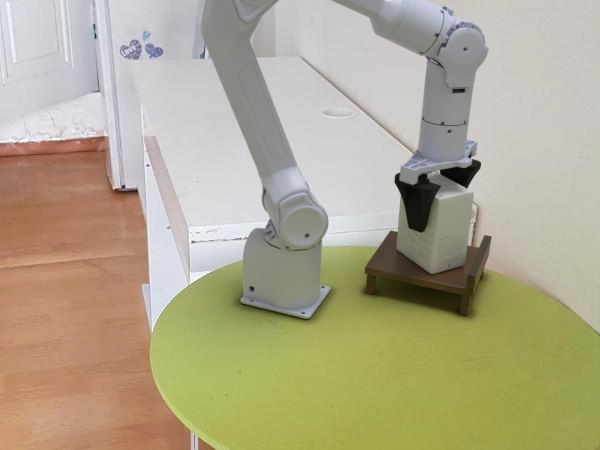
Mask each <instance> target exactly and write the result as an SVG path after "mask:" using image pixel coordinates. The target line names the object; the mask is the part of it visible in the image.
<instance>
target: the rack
mask: <svg viewBox="0 0 600 450" xmlns="http://www.w3.org/2000/svg"><path fill="white" fill-rule="evenodd" d="M397 235H398V231H396V230H389V231H388V233H387V234H386V236H384V237H385V238H384V239H383V240H382V242H381V243H380V244H379V246H378V247H377V249H376V250H375V252H374V253H373V255H372V256H371V257H370V259H369V260H368V262H367V263H366V264H365V266H364V271H363V274H365V275H366V285H365V294H368V295H374V294H375V292H376V284H377V283H376V282H377V277H379V278H383V279H388V280H392V281H396V282H401V283H407V284H411V285H415V286H421V287H424V288H429V289H433V290H434V289H435V290H437V291H443V292H448V293H453V294H456V295H457V294H458V295H460V296H461V295H462V297H461V302H460V303H461V304H460V311H459V314H460V315H461V316H465V317H468V316H469V314H470V309H471V302H472V298H473V297H474V294H475V293H476V290H477V287H478V285H479V282H480V279H483V278H484V275H485V274H484V272H485V266H486V264H487V262H488V259H489V256H490V250H491V245H492V239H493V238H492V235H487V234H484V235H483V237H482V240H481V241H480V244H479V247H478V246H474V245H469V244H468V245H467V254H466V262H465V265H464V266H461V267H457V268H453V269H450V270H446V271H442V272H439V273H435V274H430V273H429V272H427V271H426V270H425V269H423V268H422V267H420V266H419V265H418V264H416V263H415V262H413V261H412V260H411V259H409V258H408V257H406V256H405V255H404V254H402V253H401V252H399V251H398V250H397V249H396V247H397Z"/></svg>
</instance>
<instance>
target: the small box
mask: <svg viewBox="0 0 600 450" xmlns="http://www.w3.org/2000/svg"><path fill="white" fill-rule="evenodd" d="M427 179H430V181H429V182H431V183H434V184H438V185H440V186H441V188H440V189H439V191H438V192H437V194H436V196H435V198H434V200H433V203H432V206H431V209H430V213H429V218H428V223H427V226H426V229H425V231H424V232H422V233H420V232H417V231H415V230H412V229H409V228H408V223H407V217H406V211H405V207H404V203H403V199H402V197H401V196H400V200H399V211H398V223H397V224H398V225H397V232H398V235H397V247H396V249H397V250H398V251H399V252H401V253H402V254H404V255H405V256H406V257H408V258H409V259H411V260H412V261H413V262H415V263H416V264H418V265H419V266H420V267H422V268H423V269H425V270H426V271H427V272H429V273H430V274H435V273H439V272H442V271H446V270H450V269H453V268H457V267H461V266H464V265H465V262H466V254H467V245H468V246H469V236H470V228H471V219H472V211H473V202H474V195H475V192H474V191H473V190H471V189H469V188H465V187H463V186H461V185H459V184H457V183H456V182H454V181H452V180H450V179H448V178H446V177H444V176H442V175H441V174H440V172H437V171H434V172H432V173H430V174H428V177H427Z"/></svg>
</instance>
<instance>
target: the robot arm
mask: <svg viewBox="0 0 600 450" xmlns="http://www.w3.org/2000/svg"><path fill="white" fill-rule="evenodd" d="M279 1H280V0H204V5H203V10H202V17H201V22H200V33H201V38H202V40H203V43H204V45H205V48H206V50H207V52H208V55H209V58H210V60H211V62H212V65H213V67H214V69H215V71H216V74H217V76H218V79H219V81H220V83H221V86H222V88H223V91H224V94H225V96H226V99H227V100H228V103H229V106H230V107H231V110H232V113H233V115H234V117H235V120H236V122H237V124H238V127H239V129H240V132H241V134H242V136H243V139H244V142H245V145H246V146H247V148H248V151H249V154H250V156H251V158H252V161H253V163H254V166H255V168H256V170H257V175H258V178H259V180H260V182H261V187H262V190H261V204H262V207H263V209H264V211H265V212H266V213H267V215H268V217H269V220H268V221H267V223H266V225H265V227H255V228H253V229H252V230H251V232H249V234H248V236H247V237H246V241H245V242H244V243H245V244H244V248H243V255H242V297H241V298H240V303H241V304H243V305H248V306H252V307H256V308H260V309H264V310H268V311H273V312H276V313H277V312H278V313H281V314H284V315H289V316H293V317H296V318H301V319H305V320H308V319H311V318H312V316H313V315H314V313H315V312H316V311H317V310H318V308H319V307H320V305H321V304H322V303H323V301H325V299H326V297H327V296H328V294H329V293H330V292H331V287H330V286H328V285H324V284H321V276H322V275H321V273H322V250H323V238H324V237H325V236H326V233H327V232H328V228H329V216H328V212H327V211H326V209H325V208H324V207H323V205H322V204H320V203H319V201H318V200H317V198H316V197H315V196H314V194H313V192H312V191H311V188H310V187H309V184H308V183H307V181H306V180H305V178H304V176H303V174H302V172H301V170H300V168H299V165H298V163H297V161H296V158H295V155H294V152H293V150H292V148H291V145H290V141H289V140H288V137H287V134H286V131H285V129H284V126H283V124H282V122H281V119H280V116H279V113H278V111H277V109H276V105H275V104H274V100H273V98H272V95H271V93H270V90H269V87H268V84H267V82H266V80H265V77H264V74H263V71H262V69H261V67H260V63H259V61H258V59H257V56H256V53H255V51H254V48H253V46H252V44H251V43H252V42H251V38H252V36H253V34H254V32H255V31H256V29H257V26H258V25H259V23H260V21H261V20H262V17H263V16H264V15H266V13H268V12H269V11H270V10H271V9H272V8H273V7H274V6H275V5H276V4H277V3H278V2H279ZM330 1H331V2H333V3H336V4H337V5H340V6H342V7H345V8H347V9H349V10H352V11H354V12H356V13H358V14H361V15H363V16H364V17H367V18H369V21H370V24H371V27H372V31H373V33H374V35H376V36H378V37H380V38H382V39H384V40H386V41H388V42H391V43H393V44H395V45H397V46H399V47H401V48H403V49H405V50H407V51H410V52H412V53H414V54H416V55H418V56H421V57H424V58H425V59H426V69H425V78H424V86H423V96H422V107H421V116H420V125H419V134H418V135H419V136H418V145H417V149H416V150H415V152H414V153H413V154H412V155H411V157H409V159H408V160H407V161H406V162H405V163H404V164H402V165H400V171H399V172H397V173H396V174H395V175H394V179H393V180H394V181H393V182H394V184H395V186H396V188H397V189H398V193H399V194H400V197H402V199H403V203H404V207H405V211H406V217H407V223H408V228H409V229H412V230H415V231H417V232H420V233H422V232H424V231H425V229H426V226H427V223H428V218H429V213H430V209H431V206H432V203H433V200H434V198H435V196H436V194H437V192H438V191H439V189H440V188H441V186H440V185H438V184H434V183H431V182H429V181H430V179H427V177H428V174H430V173H433V172H437V171H439V174H441V175H442V176H444V177H446V178H448V179H450V180H452V181H454V182H456V183H457V184H459V185H461V186H463V187H465V188H467V189H469V186H470V184H471V182H472V181H473V179H474V178H475V176H476V175H477V173H479V171H480V170H481V168H482V162H481V161H480V160H479V159H478V160H477V159H475V158H473V157H475V156H476V155H477V149H478V143H479V142H478V141H477V140H473V139H469V138H468V131H469V123H470V115H471V109H472V108H471V107H472V101H473V91H474V86H475V85H474V84H475V81H476V75H477V71H478V69H479V68H480V67H481V66H482V65H483V64H484V62H485V61H486V58H487V56H488V54H489V46H487V45H486V38H485V34H484V33H483V32H482V31H483V30H482V29H481V28H480V27H479V26H478V25H477V24H475V23H473V22H471V21H468V20H467V19H463V18H461V17H459V16H457V15H455V14H454V13H455V9H453V8H451V7H450V6H447V5H446V4H445V5H443V6H442V7H441V6H439V5H436V4H435V3H433V2H431V1H429V0H330Z"/></svg>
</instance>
